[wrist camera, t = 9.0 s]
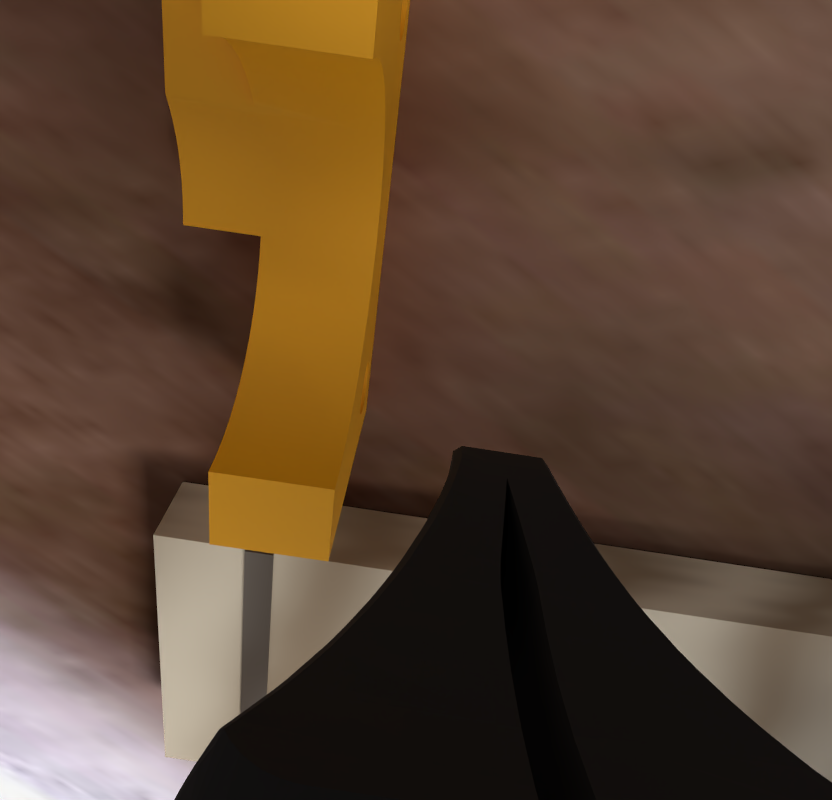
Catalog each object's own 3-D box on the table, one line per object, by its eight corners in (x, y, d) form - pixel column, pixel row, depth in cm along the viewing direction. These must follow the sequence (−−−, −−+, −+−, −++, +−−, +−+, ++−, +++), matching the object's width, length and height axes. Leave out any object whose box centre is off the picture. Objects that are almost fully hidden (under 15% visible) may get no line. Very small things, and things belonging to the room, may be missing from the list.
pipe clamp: (212, -112, 16) (72, -138, 11) (419, -82, 16) (386, -94, 11) (216, 385, 22) (128, 532, 17) (366, 407, 22) (327, 561, 17)
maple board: (956, 598, 24) (1004, 665, 22) (827, 792, 29) (855, 862, 27) (182, 481, 24) (152, 537, 22) (188, 696, 29) (164, 759, 27)
